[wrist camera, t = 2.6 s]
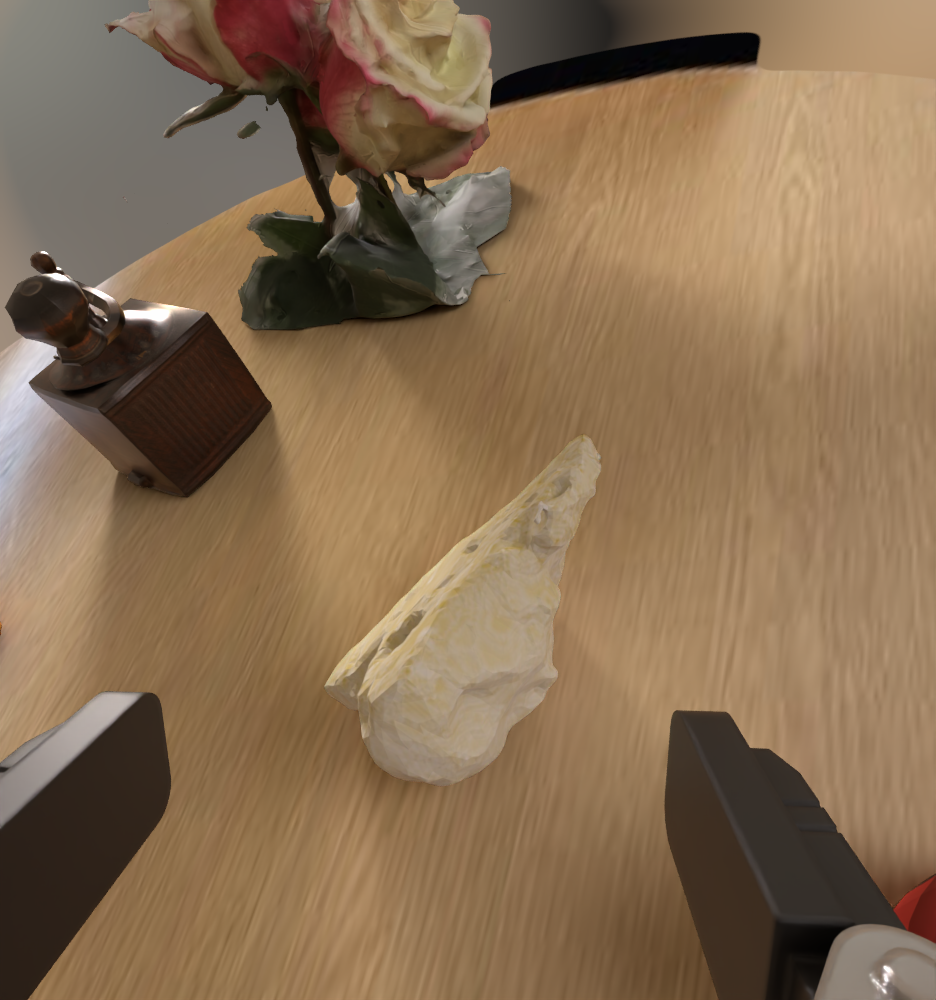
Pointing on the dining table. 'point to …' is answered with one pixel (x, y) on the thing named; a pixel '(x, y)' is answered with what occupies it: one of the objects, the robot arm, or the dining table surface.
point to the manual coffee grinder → (139, 379)
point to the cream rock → (470, 636)
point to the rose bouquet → (353, 144)
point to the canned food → (920, 909)
